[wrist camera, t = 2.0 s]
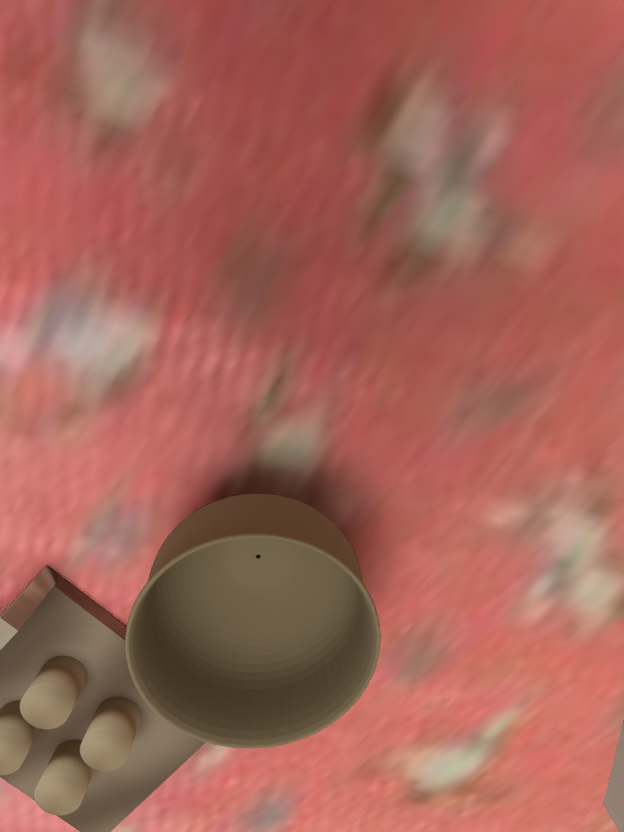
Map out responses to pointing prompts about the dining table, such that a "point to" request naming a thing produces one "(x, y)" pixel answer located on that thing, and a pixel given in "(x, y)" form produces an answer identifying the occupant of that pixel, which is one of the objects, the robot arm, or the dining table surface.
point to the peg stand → (77, 710)
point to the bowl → (253, 624)
